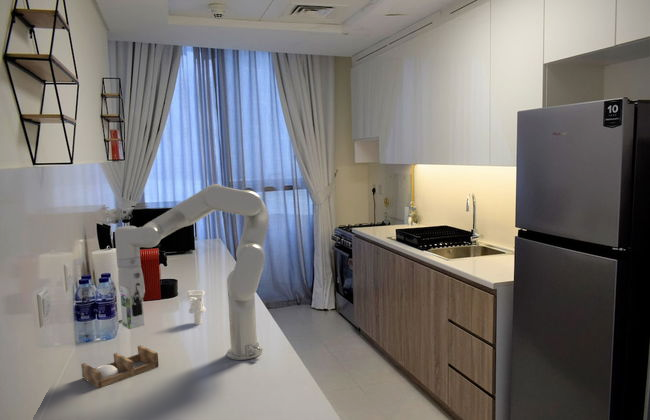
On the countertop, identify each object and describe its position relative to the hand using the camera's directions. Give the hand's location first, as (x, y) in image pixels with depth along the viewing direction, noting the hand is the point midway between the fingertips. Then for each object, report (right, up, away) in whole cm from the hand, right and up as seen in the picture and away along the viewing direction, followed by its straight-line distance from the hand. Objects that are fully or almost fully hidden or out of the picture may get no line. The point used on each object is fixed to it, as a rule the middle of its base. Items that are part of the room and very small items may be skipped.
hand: (132, 313), depth 177 cm
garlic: (-7, -21, -5) cm, 22 cm away
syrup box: (0, -5, 0) cm, 5 cm away
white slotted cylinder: (+11, -14, +48) cm, 51 cm away
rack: (-2, -20, -1) cm, 20 cm away
